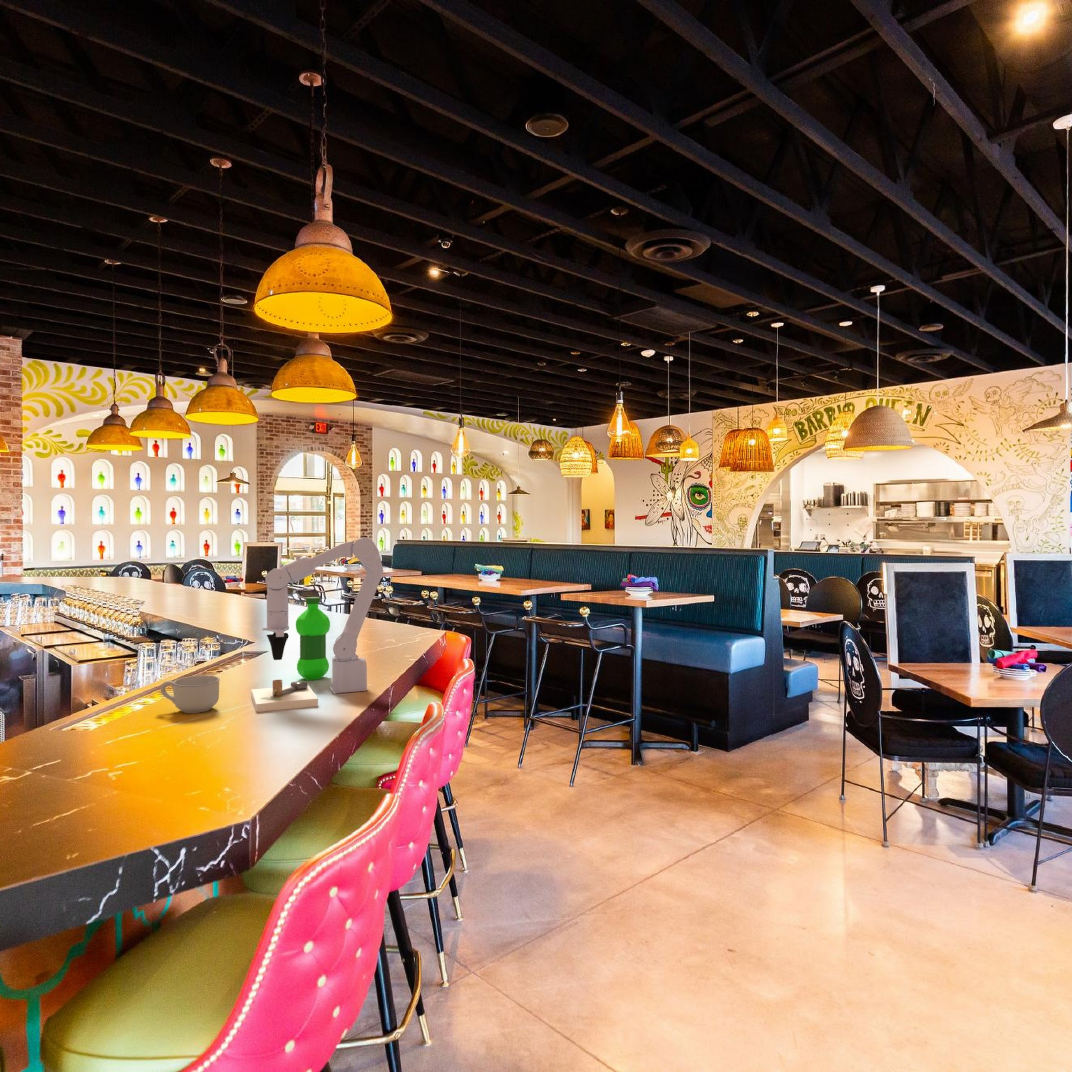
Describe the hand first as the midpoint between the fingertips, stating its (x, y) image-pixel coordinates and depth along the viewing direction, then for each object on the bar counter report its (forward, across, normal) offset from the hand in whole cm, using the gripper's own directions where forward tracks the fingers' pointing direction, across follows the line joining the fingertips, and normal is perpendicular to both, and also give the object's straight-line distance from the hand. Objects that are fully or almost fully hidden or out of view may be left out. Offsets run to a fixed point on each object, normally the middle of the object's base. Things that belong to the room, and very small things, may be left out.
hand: (277, 659), depth 205 cm
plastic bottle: (+10, -18, +12) cm, 24 cm away
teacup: (+10, +12, -22) cm, 27 cm away
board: (+9, +12, 0) cm, 15 cm away
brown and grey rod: (+7, +11, +2) cm, 13 cm away
